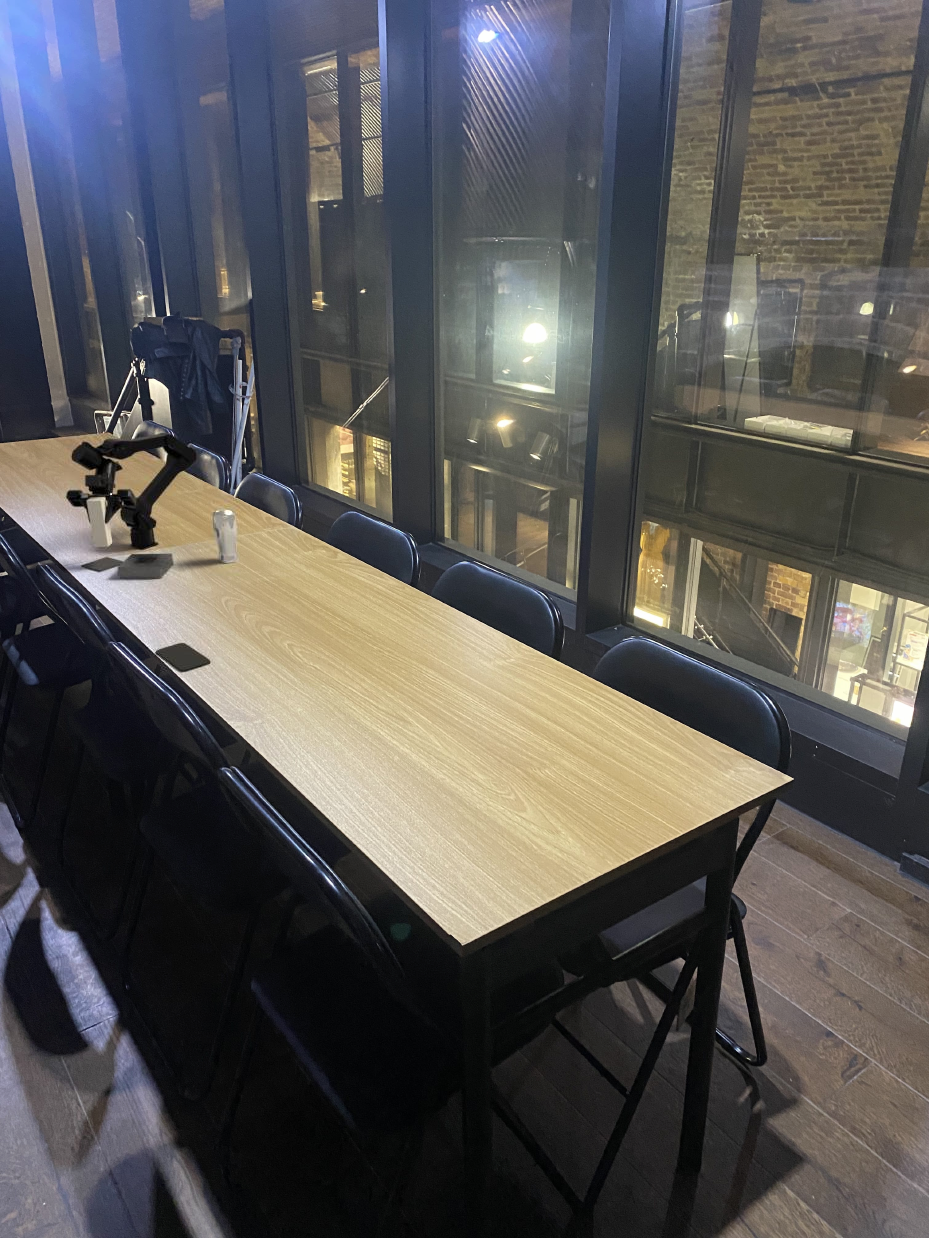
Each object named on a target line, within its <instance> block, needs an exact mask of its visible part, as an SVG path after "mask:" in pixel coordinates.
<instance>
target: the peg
mask: <svg viewBox="0 0 929 1238" xmlns="http://www.w3.org/2000/svg"><path fill="white" fill-rule="evenodd" d="M87 506H88V512H89V518H90V523H89V524H90V528H91V534H92V541H93V546H94V547H95V548H101V547H102V548H103V547H104V548H108V547H109V546H110V545H111V544H112V543H113V539H112V532H111V526H110V524H111V523H110V521H109V522H108V523H107V524H105V514H106V509H107V501H106V499H105V497H91V498H90V499H88V500H87Z"/></svg>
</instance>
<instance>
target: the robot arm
mask: <svg viewBox="0 0 929 1238" xmlns="http://www.w3.org/2000/svg"><path fill="white" fill-rule="evenodd" d="M159 448H162V449H163V451H164V452H165V453H166V454H167V455H166V460H165V464H164V466H163V467H162V468H161V469H160V471H159V472H157V474H156V476H155V477H153V479H152V480H151V481H150V483H149V484H148V485H147V486H146V487H145V489H144V490H143V491H142V492H141V493H140V495H139V496H136V495H135V494H134V492H133V491H132V490H131V489H130V488H128V489H127V488H124V489H122V488H119V489H117V490H116V493H114V489H116V486H117V485H116V483H115V480H116V475H117V474H116V473H117V472H119V471H122V470H123V466H122V465H121V464H120V462H119V461H114V460H113V459H115V460H122V461H123V460H126V459H128V458H130V457H132V456H133V455H135V454H137V453H140V452H145V451H150V450H154V449H159ZM70 459H71V460H72V461H73V462H74V463H76V464H77V465H79V466H81V467H82V468H84V469H86V470H88V471H93V470H95V471H94V474H86V475H84V486H85V487H88V491H89V492H91V493H88V492H84V491H83V490H81V489H69V490H68V491H66V495H65V498H66V499H67V501H68V502H69V503H70V504H71V506H72V507H74V508H82V507H83V508H84V509H85V511H86V514H87V519H88V523H89V524H90V518H89V512H88V506H87V500H88V499H90V498H91V497H105V499H106V505H107V509H106V514H105V524H107V523H108V522H109V523H110V521H111V519H112V518H113V517H114V515H116V513H117V512H118V511H119V510H120V511H119V513H120V514H119V515H120V519H121V520H122V521H123V523H125V524H126V525H125V526H126V527H128V528H130V529H129V530H130V534H129V536H130V543H131V544H129V547H130V548H131V547H132V548H135V549H139V550H144V549H148V548H149V549H150V548H152V547H154V546H157V545H159V542H157V541H156V539H155V531H154V528H156V526H157V520H156V519H155V518H153V517H152V516H151V515H152V512H153V506H154V505H155V503H156V502H157V501H158V499H159V498H160V497H161V496H162V495H163V493H164V492H165V491H166V490H167V489H168V488H169V487H170V485H171V483H172V482H173V481H174V479H176V477H177V476H178V475H179V474H180V473H182V472H184V471H186V470H188V469H189V468H190V467H192V466H194V464H195V463H196V462H197V452H196V450H195V449H194V448H193V447H190V446H188V444H186V443H184V442H182V441H181V440H179V439H177V437H176V436H174V435H173V434H172V433H167V432H160V433H157V434H152V435H146V436H145V435H144V436H141V437H135V438H129V439H128V438H126V439H125V438H106V439H104V440H103V442H102V444H99V445H97V446H96V447H95V446H93V445H92V444H91V443H90V442H89V441H81V444H80V445H77V446H76V447H75V448H74V449H73V450H72V452H71V458H70Z"/></svg>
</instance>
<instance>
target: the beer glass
mask: <svg viewBox="0 0 929 1238" xmlns="http://www.w3.org/2000/svg"><path fill="white" fill-rule="evenodd" d="M211 517H212V531H213V534H214V538H215V541H216V545H217V549H218V557H217V559H218V562H219V563H222V564H234V563H236V562H238V561H239V559H240V557H239V554H238V550H237V541H238V539H237V538H238V527H237V525H238V523H237V517H236V513H235V511H234V510H232V509H220V510H219V509H218V510H215V511H213V512H211Z"/></svg>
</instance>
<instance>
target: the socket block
mask: <svg viewBox="0 0 929 1238" xmlns="http://www.w3.org/2000/svg"><path fill="white" fill-rule="evenodd" d="M123 561H124V562H123V563H121V564H120V565H119V566H117V573H118V577H119V578H118V580H119V579H120V580H121V579H122V580H123V579H126V580H128V579H130V580H131V579H133V580H134V579H137V580H138V579H162V578H163V577H164V576H165V575H166V574H167V572H168V571H170V570H171V568H172V567H173V566H174V560H173V554H172V553H131V554H130V555H129V556H127V558H126V559H125V560H123Z"/></svg>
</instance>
